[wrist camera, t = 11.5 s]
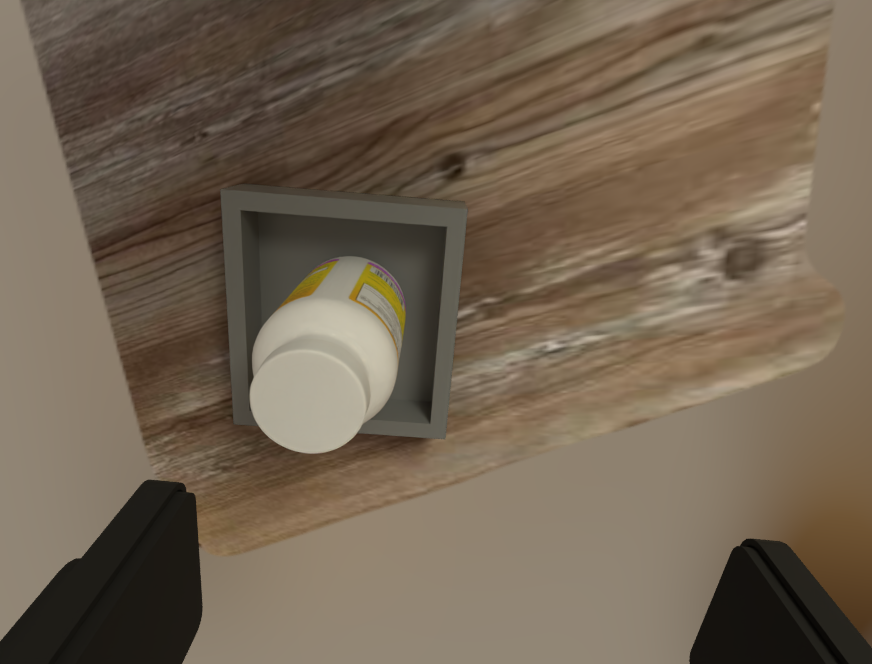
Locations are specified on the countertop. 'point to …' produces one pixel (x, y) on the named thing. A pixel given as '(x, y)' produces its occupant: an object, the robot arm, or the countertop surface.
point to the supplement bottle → (328, 355)
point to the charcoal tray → (336, 237)
